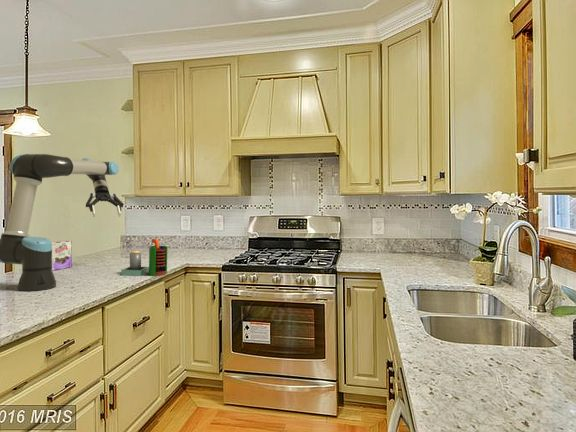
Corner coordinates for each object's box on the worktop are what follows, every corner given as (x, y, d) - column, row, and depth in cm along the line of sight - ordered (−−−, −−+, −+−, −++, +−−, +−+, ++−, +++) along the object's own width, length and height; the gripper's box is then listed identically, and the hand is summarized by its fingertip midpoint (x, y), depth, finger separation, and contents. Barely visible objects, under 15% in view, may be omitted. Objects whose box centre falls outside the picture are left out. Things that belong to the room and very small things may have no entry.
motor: (159, 276, 210) (160, 240, 209) (145, 275, 212) (145, 239, 211) (169, 273, 220) (169, 238, 219) (155, 272, 222) (155, 238, 221)
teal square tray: (142, 276, 211) (142, 270, 211) (121, 275, 211) (121, 269, 211) (150, 272, 222) (150, 266, 222) (130, 271, 222) (130, 266, 222)
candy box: (51, 271, 219) (50, 242, 218) (43, 270, 221) (43, 242, 220) (72, 267, 232) (72, 240, 231) (65, 266, 234) (64, 239, 233)
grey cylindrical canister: (138, 273, 213) (138, 252, 213) (127, 273, 214) (127, 251, 213) (142, 271, 219) (142, 250, 219) (132, 271, 220) (132, 250, 219)
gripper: (121, 194, 241) (128, 219, 230) (77, 193, 226) (82, 219, 215) (124, 185, 237) (131, 210, 226) (78, 183, 222) (83, 210, 210)
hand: (107, 215), depth 220 cm, fingers open, 13 cm apart
